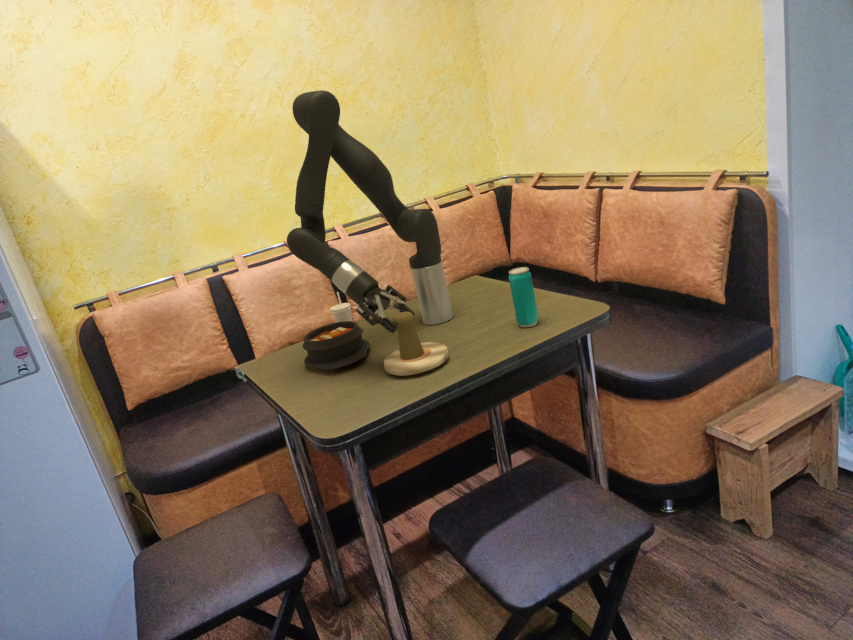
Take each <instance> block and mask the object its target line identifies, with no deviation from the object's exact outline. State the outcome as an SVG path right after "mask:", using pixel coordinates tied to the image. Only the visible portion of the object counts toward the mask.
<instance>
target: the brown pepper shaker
mask: <svg viewBox="0 0 853 640" xmlns="http://www.w3.org/2000/svg"><path fill="white" fill-rule="evenodd" d="M392 322H393V323H394V324H395V325H397V327H398V328H397V330H396V331H397V339H398V348H399V349H398V350H400V358H401V359H402V360H412V359H415V358H418V357H420V356H422V355H423V354H424V350H423V348H422V345H421V343H422V342H421V341H420V338H419V335H418V333H417V330H416V327H415V325H414V324H415V316H413V314H412V313H411V312H401V313H400V312H398V313H396V314H395V315H394V316H393V318H392Z"/></svg>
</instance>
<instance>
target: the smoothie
mask: <svg viewBox="0 0 853 640" xmlns="http://www.w3.org/2000/svg"><path fill="white" fill-rule="evenodd" d="M336 296H337V298H338V302H339V303H338V304H335V305H334V306H333V305H332V306H331V308H330V313H332V315H333V318H334V320H335V323H336V322H342V321H353V315H352V304H351V303H350V302H342V300H341V296H340V293H339V291H337V292H336Z"/></svg>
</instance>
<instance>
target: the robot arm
mask: <svg viewBox="0 0 853 640" xmlns="http://www.w3.org/2000/svg"><path fill="white" fill-rule="evenodd" d="M292 115H293V118H294V120H295V122H296V124H297V125H298V126H299V127H300V128H301V129H302V130H303V131H304V132H305V133H306V134H307V135H308V141H307V142H308V143H307V150H306V154H305V157H304V158H303V159H304V160H303V163H302V165H301V168H300V170H299V174H298V177H297V181H296V187H295V200H294V213H295V214H296V215H297V216H298V217H300V227H295V228H294V229H292V230H290V231H289V233H288V234H287V236H286V245H287V247H288V249H289V251H290V252H291V254H292V255H294V256H295V257H296V258H297V259H299V260H301V261H302V262H304V263H305V264H307V265H309V266H310V267H312V268H314V269H316V270H317V271H319V272H320V273H322V275H323V276H324V277H326V278H327V279H328V280H329V281H330V282H332V283H333V284H334V285H335V287H337V289H339V290H340V291H341V292H342V293H343V294H344V295H346V297H348V298H349V299H350V300H352V301H353V302H354V303H355V304H357V307H356V309H355V311H356V313H357V314H358V315H360V317H362V319H364V320H365V321H366V322H367V323H368V324H369V325H371V326H372V327H375V326H376V325H378V326H379V325H380V326H382V327H383V328H384V329H385V330H387V332H389V333H391V334H394V333H396V331H397V328H398V327H397V325H395V324H394V323H393V320H391V319H390V318H388V317H387V316H385V313H384V311H385V310H392V309H393V310H397V311H399V312H398V313H401V312H411V313H412V314H413V316H414V317H415V315H416V312H415V311H413V310H412V309H411V308H410V307H409V306H407V304H406V301H407V297H406V296H404V295H403V294H402V293H400V292H399V291H398V290H397V289H396V288H394V287H393V286H392V285H389V284H387V285H386V287H385V288H384V289H382V288H380V287H379V282H378V280H377V279H376V278H374V277H373V276H372V275H371V274H369V273H368V272H367V271H366V270H364V269H363V268H362V267H361V266H360V265H358V264H357V263H356V262H354V261H352V260H351V259H350V258H348V257H347V256H346V255H345V254H344V253H342V251H340V250H339V249H336V248H335V247H331V246H327V245H326V239H327V238H326V224H325V218H324V207H325V206H324V205H325V199H326V198H325V196H326V184H327V176H328V172H329V165H330V160H331V158H332V159H333V161H334V162H335V163H336V164H337V165H338V167H339V168H340V169H341V170H342V171H343V172H344V173H345V175H347V177H348V178H349V179H350V180H351V182H353V184H354V185H355V186H356V188H358V189H359V190H360V192H362V194H363V195H364V196H365V197H367V199H368V200H369V201H370V202H371V204H373V206H375V209H377V210H378V212H379V213H380V214H381V215H382V216H383V217H384V219H385V220H386V222H387V224H388V225H389V227H390V228H391V229H392V230H393V231H394V233H395V234H396V235H397V237H398V238H399V239H400V240H402V241H403V242H406V243H415V247H416V252H415V253H414V254H413V255H410V257H409V259H408V263H409V267H410V272H411V276H412V279H413V284H414V287H415V292H416V297H417V300H418V305H419V310H420V315H421V319H422V322H423V324H424V325H429V326H430V325H431V326H432V325H435V326H436V325H440V324H444V323H446V322H448V320H449V321H451V320H452V319H453V318H454V312H453V307H452V303H451V302H452V301H451V297H450V293H449V289H448V285H447V283H448V282H447V280H446V274H445V269H444V266H443V262H442V256H441V255H442V245H441V244H442V243H441V237H440V231H439V227H438V221H437V219H436V216H435V214H434V213H433V212H432V210H430V209H427V208H418V209H410V208H408V207H407V206H406V205H405V204H404V203H403V202H402V201H401V200H400V199H399V197H398V196H397V194H396V192H395V187H394V181H393V176H392V174H391V172H390V170H389V169H388V167H387V166H386V165H385V164H384V163H383V161H382V160H381V159H380V158H379V157H378V155H377V154H376V153H375V152H374V151H372V150H371V149H370V148H369V147H367V146H366V145H365V144H363V143H362V142H361V141H359V140H357V138H354V137H353V136H352V135H351V134H349V133H348V132H347V131H346V130H345V129H344V128H342V126H341V125H340V119H341V118H340V116H341V106H340V102H339V101H338V99H337V97H336V96H335V95H334V93H332V92H330V91H327V90H322V89H321V90H320V89H319V90H314V91H307V92H303V93H300V94H298V95H297V96H296V97H295V98H294V101H293V102H292Z"/></svg>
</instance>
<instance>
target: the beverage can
mask: <svg viewBox="0 0 853 640" xmlns="http://www.w3.org/2000/svg"><path fill="white" fill-rule="evenodd" d="M508 281H509V287H510V292H511V298H512V303H513V308H514V313H515V320H516V322H517V324H518V326H520V327H521V328H525V327H527V328H531V327H534V326H536V325H537V324H538V321H539V312H538V305H537V300H536V295H535V289H534V284H533V278H532V273H531V272H530V269H529V267H527V266H521V267H516V268H512V269H510V270H509V271H508ZM525 329H526V328H525Z"/></svg>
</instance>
